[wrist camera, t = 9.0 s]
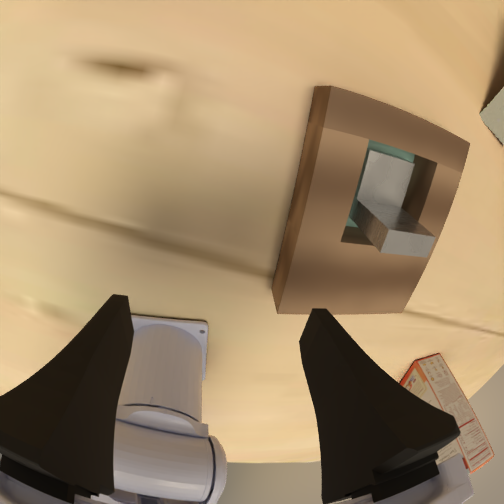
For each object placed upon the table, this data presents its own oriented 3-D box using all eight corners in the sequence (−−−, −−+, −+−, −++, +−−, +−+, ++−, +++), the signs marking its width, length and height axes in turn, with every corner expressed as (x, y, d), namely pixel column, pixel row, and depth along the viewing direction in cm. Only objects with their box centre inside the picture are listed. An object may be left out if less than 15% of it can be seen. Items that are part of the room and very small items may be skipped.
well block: (388, 292, 25) (401, 312, 23) (271, 288, 23) (277, 313, 21) (446, 134, 17) (470, 143, 15) (314, 86, 15) (331, 85, 13)
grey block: (385, 217, 21) (426, 257, 16) (342, 210, 20) (380, 252, 15) (403, 158, 18) (454, 185, 13) (360, 145, 17) (408, 170, 12)
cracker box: (407, 397, 41) (443, 486, 24) (381, 405, 41) (415, 501, 23) (442, 350, 34) (497, 456, 16) (414, 358, 34) (469, 476, 16)
